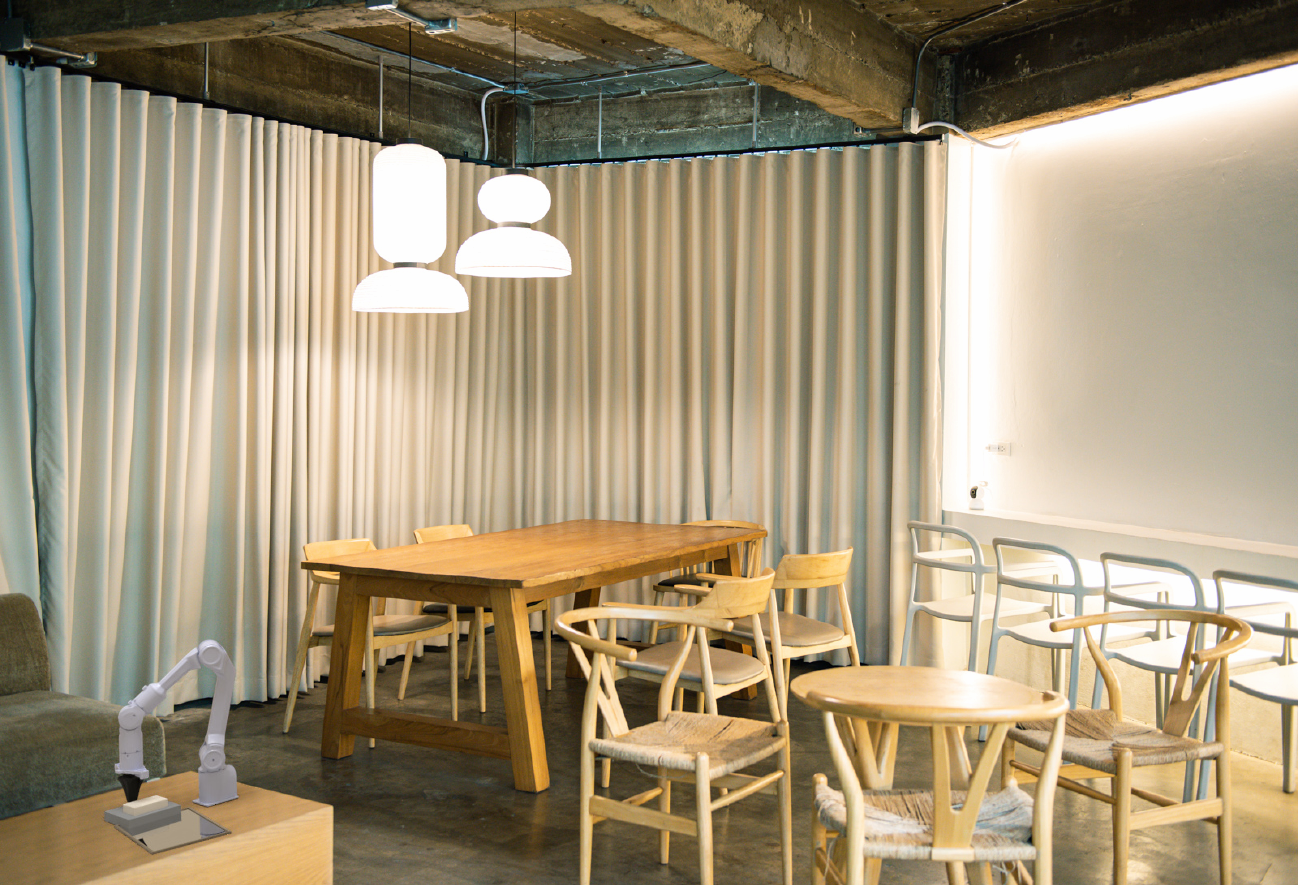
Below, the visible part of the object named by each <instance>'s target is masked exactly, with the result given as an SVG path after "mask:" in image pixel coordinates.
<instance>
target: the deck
mask: <svg viewBox="0 0 1298 885" xmlns="http://www.w3.org/2000/svg"><path fill="white" fill-rule="evenodd" d="M181 809H182V805H181V804H178V803H176V802H173V801H169V800H168V806H167V807H164V808H161V809H157V810H154V811H150V812H147V813H143V814H140V815H137V816H133V815H130V814H127V813H125V812H123V805H122V806H119V807H115V808H110V809H107V810H104V811H103V817H104V821H105V822H106V823H110V824H113V825H118V824H120V826H123V827H126V828H128V829H130V828H133V827H137V826H140V825H143V824H146V823H150V822H153V821H156V820H160V819H163V818H166V817H169V816H173V815H176V814H179V813H181Z"/></svg>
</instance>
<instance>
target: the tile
mask: <svg viewBox="0 0 1298 885" xmlns="http://www.w3.org/2000/svg"><path fill="white" fill-rule="evenodd" d="M168 801H169V798H167V797H163V796H160V795H157V794H155V795H152V796H148V797H144V798H141V799H137V801H133V802H130V803H129V802H127V803H123V804H122V806H123V812H125V813H127V814H130V815H133V816H137V815H140V814H143V813H147V812H150V811H154V810H157V809H161V808H164V807H167V806H168Z"/></svg>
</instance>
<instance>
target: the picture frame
mask: <svg viewBox="0 0 1298 885" xmlns="http://www.w3.org/2000/svg"><path fill="white" fill-rule="evenodd" d="M113 825H114V824H113ZM114 829H115V830H117V831H118V832H120V833H121V834H122V835H124V836H125V837H127V838H128V839H130V840H131V841H132V842H133V843H135V844H136V843H137V845H138V846H139V847H140V848H142V849H144V850H145V851H146V852H147V853H149V854H150V855H155V854H156V855H157V854H160V853H165V852H167V851H171V850H175V849H179V848H182V847H183V848H184V847H186V846H190V845H193V844H197V843H201V842H205V841H209V840H212V839H216V838H220V837H224V836H227V834H228V835H232V830H230V829H228V828H226V827H225V826H223V825H221V824H220V823H218V822H216V821H215V820H213V819H212V818H209V817H208V816H206V815H205V814H203V813H201V812H199V810H196V809H194V808H193V807H191V806H188V807H184V808H183V807H182V808H181V813H179V814H176V815H173V816H169V817H166V818H163V819H160V820H156V821H153V822H150V823H146V824H143V825H140V826H137V827H133V828H130V829H128V828H126V827H123V826H120V824H118V825H114Z"/></svg>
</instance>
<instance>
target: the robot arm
mask: <svg viewBox="0 0 1298 885" xmlns="http://www.w3.org/2000/svg"><path fill="white" fill-rule="evenodd" d="M202 666H204V667H206V668H207V669H209V670H211V671H212V672H213V673H214V674H215V676H216V682H215V687H214V692H213V698H212V704H211V708H210V714H209V719H208V720H209V721H208V726H207V731H206V735H205V737H204V741H203V743H202V745H201V746H200V748H199V751H198V758H199V759H200V764H201V765H200V766H199V767H198V768H197V770H198V771H197V772H198V774H197V775H198V798H196V799H193V800H191V801H192V803H195V804H197V805H200V806H204V807H211V806H214V805H215V804H216V805H218V804H221V803H225V802H228V801H231V800H236V799H238V798H239V797H240V796H239V795H238V783H237V780H238V779H237V778H238V777H237V776H238V775H237V771H236V768H235V767H234V766H233V764H226V763H225V762H226V754H225V750H224V749H225V741H226V740H225V736H226V735H225V734H226V729H227V725H228V724H227V723H228V717H229V714H230V708H231V702H232V696H233V691H234V684H235V680H236V674H237V671H236V668H235V665H234V664H233V662H232V660H231V659H230V657H229V654H228V653H227V651H226V649H225V648H224V647H223V646H222V645H221V644H220V643H219V642H218V641H216V639H215V640H214V639H205V640H203V641H202V642H200V643H199V644H198V646H196V647H193V649H191V650H190V651H189V652H188V653H187V654H185V656H184V657H182V658H181V660H179V662H177V664H175V665H174V666H173V667H172V668H171V670H169V671H168V673H167V674H166V675H164V676H163V677H162V679H161V680H159V681H158V682H156V683H155V682H153V683H149V684H148V685H147V684H146V685H144V686H143V687H142V688H141V690H142V691H141V692H140V693H138V694H137V695H136V697H135V698H133V699H129V701H128V702H127V704H128V705H124V706H123V707H122V708H121V709H120V711H119V713H118V715H117V719H118V724H119V728H118V730H119V731H118V732H119V735H118V749H119V750H118V751H119V753H118V754H119V762H118V763H114V773H115V774H117V775H118V774H119V776H117V780H118V782H119V783H120V784H121V787H122V789H123V792H124V796H125V799H126V801H127V803H130V802H133V801H137V800H139V798H138V797H139V793H140V789H141V787H142V785H143V782H144V780H146V779H149V777H150V771H149V769H147V768H146V766H145V765H144V749H143V748H144V747H143V746H144V744H143V742H144V739H143V736H144V735H143V731H142V724H143V722H144V717H148V715H149V714H151V713H152V712H153V711H154V710H155V709H156V708H157V707H158V706H159V705H161V703H162V702H163V701H165V699H167V692H168V690H170V689H171V688H172V687H173V686H174V685H175V684H176V683H178V682H179V681H180V680H181V679H182V678H183V677H184V676H185V675H187V674H188V673H189V672H190V671H194V670H200V669H202ZM121 774H122V775H121Z"/></svg>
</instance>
